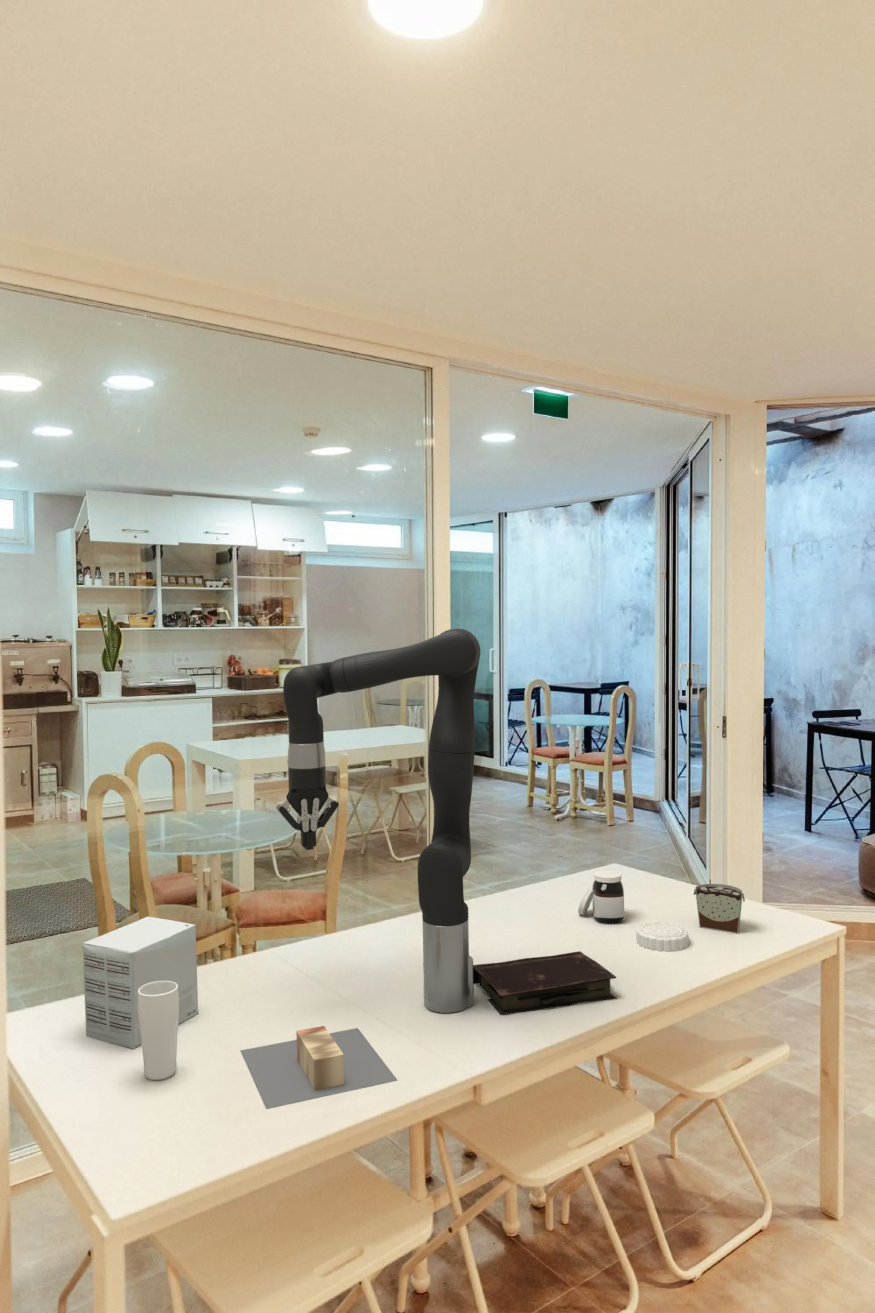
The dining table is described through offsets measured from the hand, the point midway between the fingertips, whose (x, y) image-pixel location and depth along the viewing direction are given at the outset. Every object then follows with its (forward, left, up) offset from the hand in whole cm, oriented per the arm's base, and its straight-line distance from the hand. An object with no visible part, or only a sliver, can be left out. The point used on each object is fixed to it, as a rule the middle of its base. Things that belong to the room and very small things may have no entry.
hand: (308, 849), depth 189 cm
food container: (-104, 0, -31) cm, 109 cm away
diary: (-45, +16, -32) cm, 57 cm away
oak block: (+7, +25, -28) cm, 39 cm away
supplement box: (+33, -2, -31) cm, 46 cm away
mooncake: (-84, +3, -32) cm, 90 cm away
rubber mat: (+7, +29, -31) cm, 43 cm away
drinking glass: (+32, +20, -31) cm, 49 cm away
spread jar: (-81, -19, -31) cm, 89 cm away
